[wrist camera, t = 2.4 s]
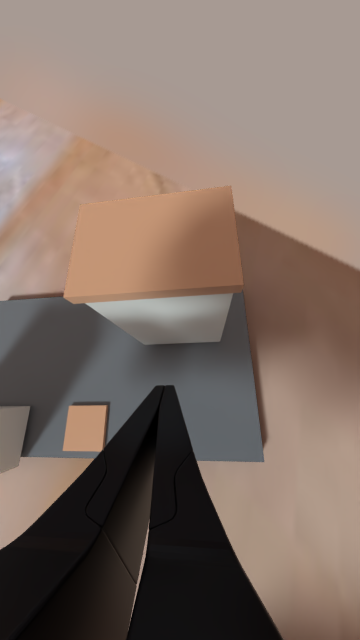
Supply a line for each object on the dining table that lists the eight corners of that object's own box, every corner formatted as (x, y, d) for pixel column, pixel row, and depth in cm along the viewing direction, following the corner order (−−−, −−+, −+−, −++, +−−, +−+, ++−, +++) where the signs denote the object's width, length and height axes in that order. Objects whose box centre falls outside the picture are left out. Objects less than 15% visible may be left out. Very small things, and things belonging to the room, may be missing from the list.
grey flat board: (259, 456, 15) (265, 463, 13) (-38, 450, 17) (-60, 456, 16) (239, 289, 19) (242, 281, 17) (2, 306, 21) (-13, 300, 20)
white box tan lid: (222, 344, 16) (244, 284, 7) (141, 347, 17) (63, 297, 8) (218, 292, 17) (231, 185, 8) (143, 297, 18) (79, 204, 9)
